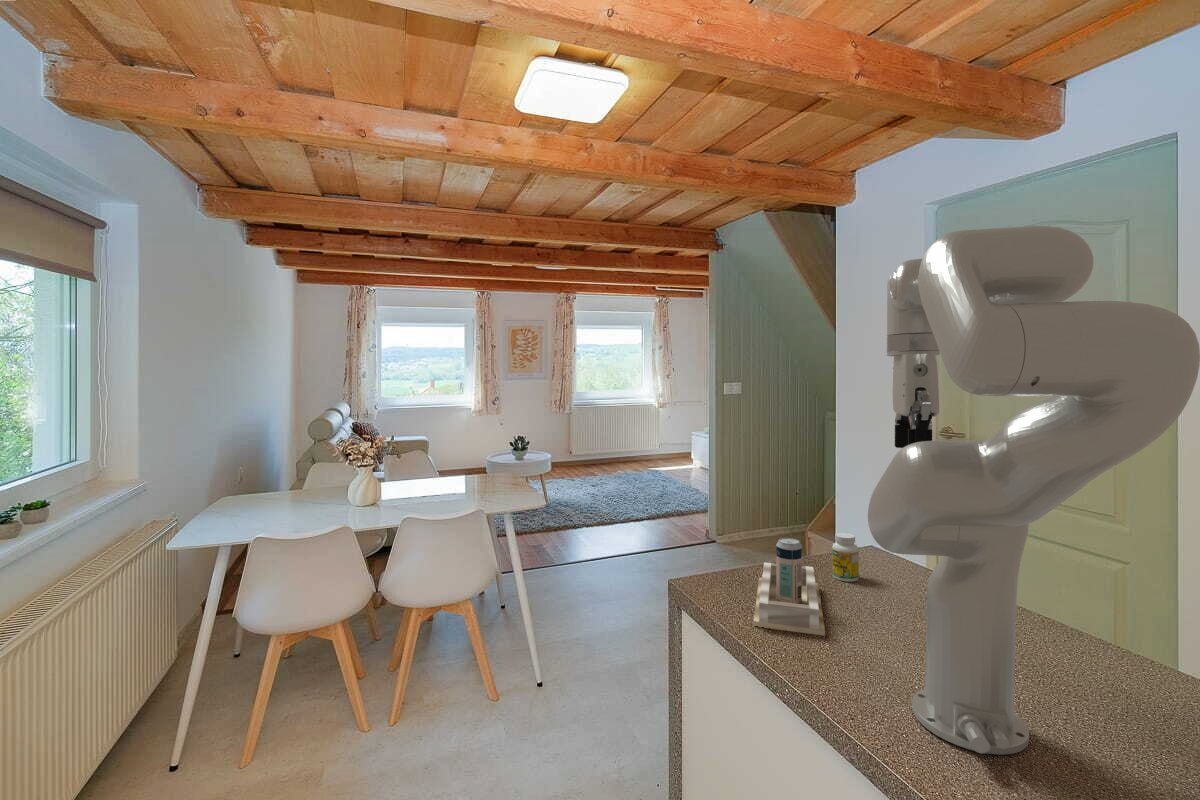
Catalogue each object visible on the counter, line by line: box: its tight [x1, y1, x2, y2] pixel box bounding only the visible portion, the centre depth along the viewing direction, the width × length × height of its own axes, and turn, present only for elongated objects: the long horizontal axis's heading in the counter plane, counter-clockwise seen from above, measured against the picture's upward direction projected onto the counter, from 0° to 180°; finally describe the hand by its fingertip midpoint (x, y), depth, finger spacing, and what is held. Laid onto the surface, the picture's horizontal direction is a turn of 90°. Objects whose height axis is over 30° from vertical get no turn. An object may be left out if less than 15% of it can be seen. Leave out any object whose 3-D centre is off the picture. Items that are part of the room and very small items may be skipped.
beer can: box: [775, 537, 803, 604], centre depth 107 cm, size 5×5×12 cm
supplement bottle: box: [831, 532, 860, 583], centre depth 122 cm, size 5×5×10 cm
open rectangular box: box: [752, 562, 826, 637], centre depth 108 cm, size 22×12×4 cm, turn 161°
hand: (912, 451), depth 90 cm, fingers open, 9 cm apart
